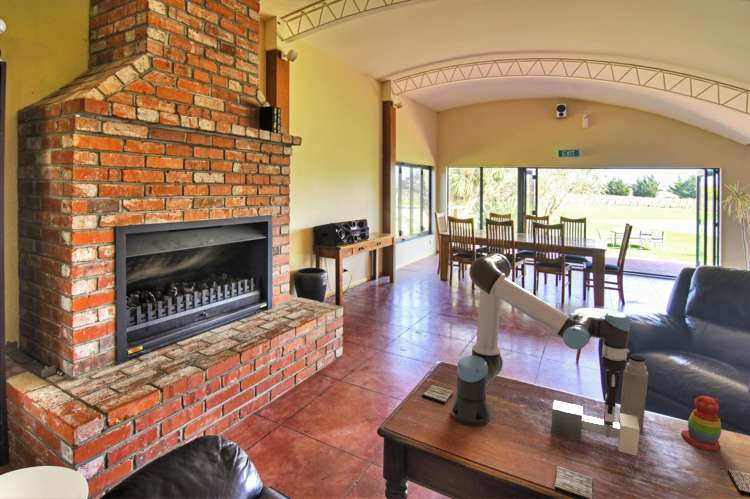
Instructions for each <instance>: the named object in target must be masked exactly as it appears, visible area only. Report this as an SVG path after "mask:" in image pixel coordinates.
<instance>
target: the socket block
mask: <svg viewBox="0 0 750 499" xmlns="http://www.w3.org/2000/svg"><path fill="white" fill-rule="evenodd" d="M618 416H619V417H618V423H620V436H619V438H616V439H617V448H618V452H620V453H625V454H628V455H632V456H637V455H638V449H639V442H640V441H639V440H640V432H641V431H640V429H639V424H638V418H637V417H636V416H632V415H627V414H622V413H620V412H619V415H618Z"/></svg>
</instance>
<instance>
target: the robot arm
mask: <svg viewBox="0 0 750 499" xmlns="http://www.w3.org/2000/svg"><path fill="white" fill-rule="evenodd" d="M511 270H512V266H511V263H510V261H509V259H508V258H507V257H506V256H505V255H504V254H501V253H489V254H486V255H484V256H481V257H478V258H475V259H474V260H473V261H472V263H471V264H470V267H469V271H468V272H469V278H470V280H471V281H472V283H473V284H474V285H475V286H476V287H477V288H478V289H479V299H478V301H479V302H478V312H477V313H478V314H477V326H476V327H477V328H476V330H477V331H476V339H475V340H476V342H475V344H473V345H472V347H471V355H468V356H464V357H462V358H460V359H459V360H458V362H457V367H456V394H455V395H456V397H455V399H454V402H453V404H452V406H451V416H452V418H453V420H455V421H456V422H457V423H459V424H461V425H465V426H468V427H480V426H484V425H486V424H488V422H490V418H491V412H490V408H489V404H488V401H487V386H488V385H489V384H490V383H491V382H492V381H493V380H494V379H495V378H496V377H497V376H498V375H499V374H500V373H501V371H502V369H503V365H504V360H503V356H502V355H501V349H500V347H498V341H499V329H500V328H499V326H500V315H501V306H502V305H501V304H502V301H503V302H505V303H507V305H510V306H511V307H513V308H515V309H516V310H518V311H519V312H521V313H522V314H523V315H525V316H527V317H529V318H530V319H532V320H534V321H535V322H537V323H538V324H540V325H541V326H543V327H544V328H547V329H548V330H549V331H551V332H553V333H554V334H556V335H557V336H559V338H562V341H563V342H564V344H565V345H566V346H567V347H568V348H570V349H572V350H580V349H583V348H585V347H586V346H587V345H588V344H589V342H590V340H591V338H595V339H603V342H602V350H601V354H602V355H601V367H603V368H604V369H605V370H606V371H605V372H606V374H605V375H606V376H605V377H606V378H605V379H606V380H605V381H606V387H605V388H606V389H605V395H606V394H607V402H605V401H604V402H603V405H605V404H606V409H605V421H609V422H613V420H614V421H615V412H614V409H615V410H616V404H617V403H616V400H617V390H618V386H619V380H620V372H624V370H625V369H626V364H627V357H628V353H630V349H628V347H629V339H630V329H631V328H630V321H631V319H630V317H629V316H628V315H627V314H624V313H620V312H612V311H611V312H610V311H609V312H606V313H605V315H604V316H596V315H591V314H584V313H581V312H570V313H568V315H567V314H566V313H564V312H562V311H561V310H559V309H558V308H556V307H554V306H553V305H552V304H549V303H548V302H546V301H545V300H543V299H541V298H540V297H538V296H536V295H535V294H533V293H531V292H529V291H528V290H526V289H525V288H523V287H521V286H520V285H518V284H517V283H515V282H513V281H511V280H510V279H508V277H509V276H510V274H511Z"/></svg>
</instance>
